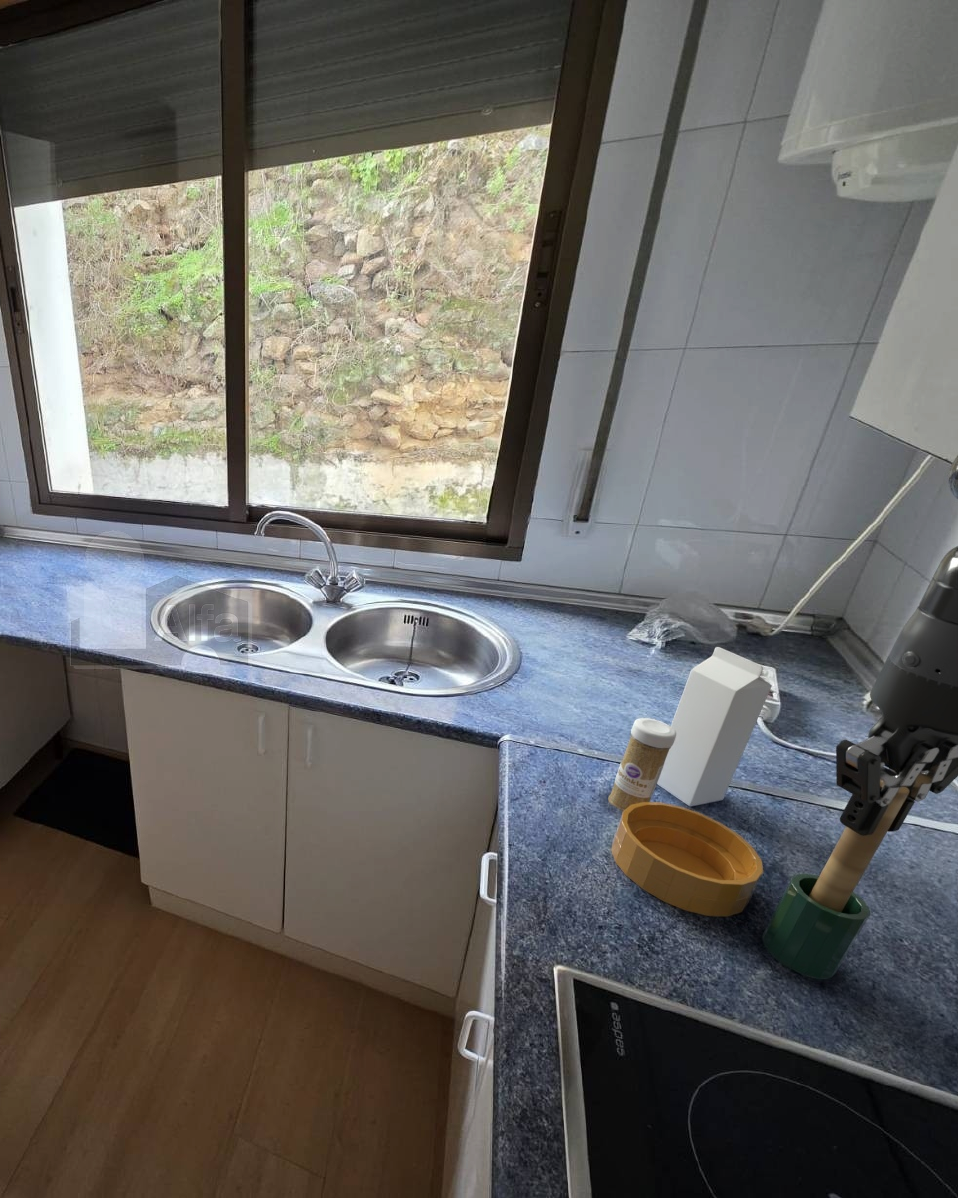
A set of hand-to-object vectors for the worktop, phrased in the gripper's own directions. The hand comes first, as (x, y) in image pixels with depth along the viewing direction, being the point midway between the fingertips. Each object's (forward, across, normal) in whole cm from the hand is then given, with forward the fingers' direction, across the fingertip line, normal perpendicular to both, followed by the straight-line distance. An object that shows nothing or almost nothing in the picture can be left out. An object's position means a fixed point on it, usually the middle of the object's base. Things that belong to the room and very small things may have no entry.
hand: (867, 826), depth 60 cm
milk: (+18, +13, +25) cm, 33 cm away
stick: (+15, 0, 0) cm, 15 cm away
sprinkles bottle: (+18, +2, +23) cm, 29 cm away
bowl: (+18, -2, +12) cm, 22 cm away
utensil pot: (+18, 0, 0) cm, 18 cm away
